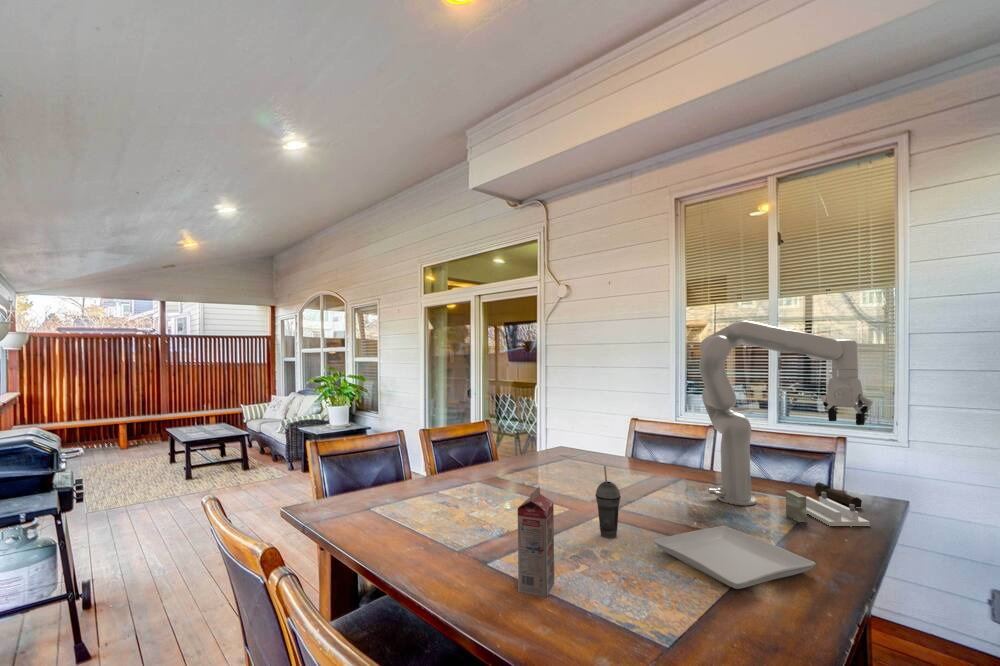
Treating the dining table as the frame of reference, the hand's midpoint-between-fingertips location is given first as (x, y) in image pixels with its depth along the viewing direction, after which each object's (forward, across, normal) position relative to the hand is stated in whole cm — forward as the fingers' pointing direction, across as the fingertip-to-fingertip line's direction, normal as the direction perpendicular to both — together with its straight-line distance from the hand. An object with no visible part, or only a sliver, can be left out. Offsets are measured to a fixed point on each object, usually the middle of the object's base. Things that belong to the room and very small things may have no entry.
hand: (846, 422), depth 168 cm
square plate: (+30, +23, -75) cm, 84 cm away
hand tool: (+29, -5, -1) cm, 29 cm away
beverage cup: (+30, -3, -94) cm, 99 cm away
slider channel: (+28, +7, -18) cm, 35 cm away
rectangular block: (+29, +5, -30) cm, 42 cm away
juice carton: (+30, +18, -126) cm, 131 cm away
